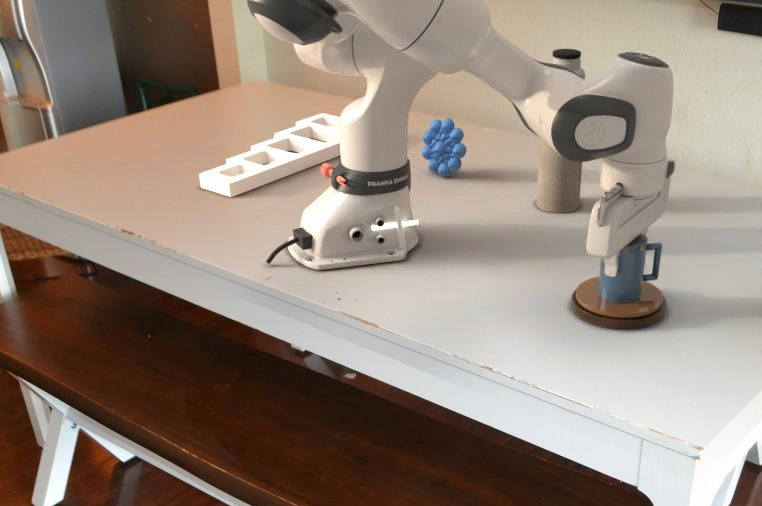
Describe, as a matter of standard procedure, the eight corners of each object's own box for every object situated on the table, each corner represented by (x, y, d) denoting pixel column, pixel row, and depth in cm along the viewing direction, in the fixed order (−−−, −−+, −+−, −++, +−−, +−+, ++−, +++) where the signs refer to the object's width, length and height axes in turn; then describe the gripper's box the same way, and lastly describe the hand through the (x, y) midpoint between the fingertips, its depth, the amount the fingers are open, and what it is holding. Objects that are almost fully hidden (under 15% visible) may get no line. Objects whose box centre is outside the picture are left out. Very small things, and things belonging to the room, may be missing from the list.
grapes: (479, 178, 197) (480, 118, 190) (456, 186, 193) (456, 126, 186) (438, 164, 204) (438, 106, 197) (414, 172, 200) (414, 113, 193)
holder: (231, 197, 188) (229, 183, 187) (169, 177, 197) (167, 164, 196) (382, 139, 218) (382, 127, 217) (323, 124, 228) (322, 113, 226)
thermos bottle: (580, 198, 187) (592, 46, 172) (577, 214, 180) (588, 57, 165) (539, 196, 188) (546, 44, 173) (534, 211, 182) (541, 55, 167)
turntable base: (606, 338, 141) (607, 328, 140) (553, 299, 151) (554, 290, 150) (684, 317, 146) (685, 308, 145) (627, 281, 157) (628, 272, 156)
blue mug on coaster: (592, 322, 141) (598, 259, 136) (564, 283, 152) (568, 224, 147) (677, 313, 143) (685, 251, 138) (643, 275, 154) (650, 217, 149)
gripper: (622, 201, 129) (613, 296, 136) (680, 158, 143) (669, 246, 150) (578, 192, 131) (572, 285, 139) (640, 150, 146) (631, 237, 153)
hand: (623, 264), depth 145 cm, fingers closed on blue mug on coaster, 6 cm apart
